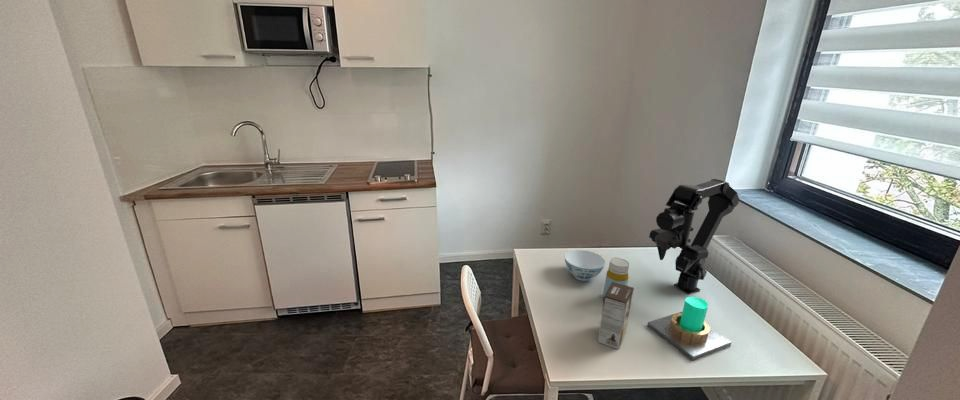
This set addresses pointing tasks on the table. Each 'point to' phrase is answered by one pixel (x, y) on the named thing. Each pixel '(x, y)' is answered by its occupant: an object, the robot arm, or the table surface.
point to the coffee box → (615, 315)
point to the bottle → (616, 273)
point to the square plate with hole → (688, 337)
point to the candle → (693, 314)
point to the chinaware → (584, 264)
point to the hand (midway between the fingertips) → (672, 265)
